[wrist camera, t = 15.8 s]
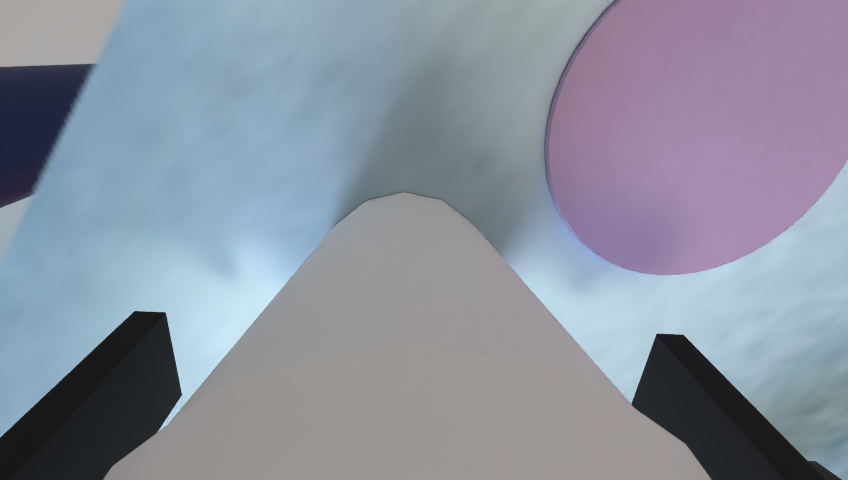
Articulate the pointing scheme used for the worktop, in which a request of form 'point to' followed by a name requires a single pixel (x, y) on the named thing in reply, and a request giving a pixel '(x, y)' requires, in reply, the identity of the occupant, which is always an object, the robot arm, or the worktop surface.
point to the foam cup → (408, 374)
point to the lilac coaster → (698, 128)
